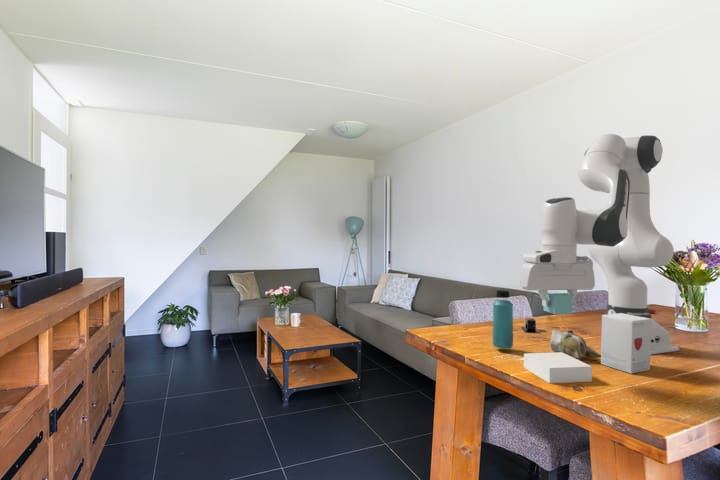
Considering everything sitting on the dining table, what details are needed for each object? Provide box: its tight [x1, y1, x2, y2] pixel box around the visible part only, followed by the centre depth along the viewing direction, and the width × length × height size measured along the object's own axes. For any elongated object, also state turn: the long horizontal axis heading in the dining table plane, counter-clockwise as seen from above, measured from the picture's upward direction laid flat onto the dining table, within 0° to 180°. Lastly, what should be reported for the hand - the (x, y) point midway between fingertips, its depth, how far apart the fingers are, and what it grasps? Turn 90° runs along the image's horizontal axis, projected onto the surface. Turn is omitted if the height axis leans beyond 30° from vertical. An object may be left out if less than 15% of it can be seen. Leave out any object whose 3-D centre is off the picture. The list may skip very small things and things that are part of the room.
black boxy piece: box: [520, 317, 542, 335], centre depth 154 cm, size 13×8×5 cm, turn 167°
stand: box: [523, 352, 593, 384], centre depth 104 cm, size 12×12×4 cm
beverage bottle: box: [492, 289, 514, 350], centre depth 125 cm, size 6×7×20 cm
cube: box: [542, 292, 573, 315], centre depth 104 cm, size 5×5×5 cm
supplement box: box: [600, 313, 651, 375], centre depth 110 cm, size 9×9×15 cm
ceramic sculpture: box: [549, 328, 601, 361], centre depth 119 cm, size 11×9×15 cm
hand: (557, 306), depth 104 cm, fingers closed on cube, 5 cm apart
